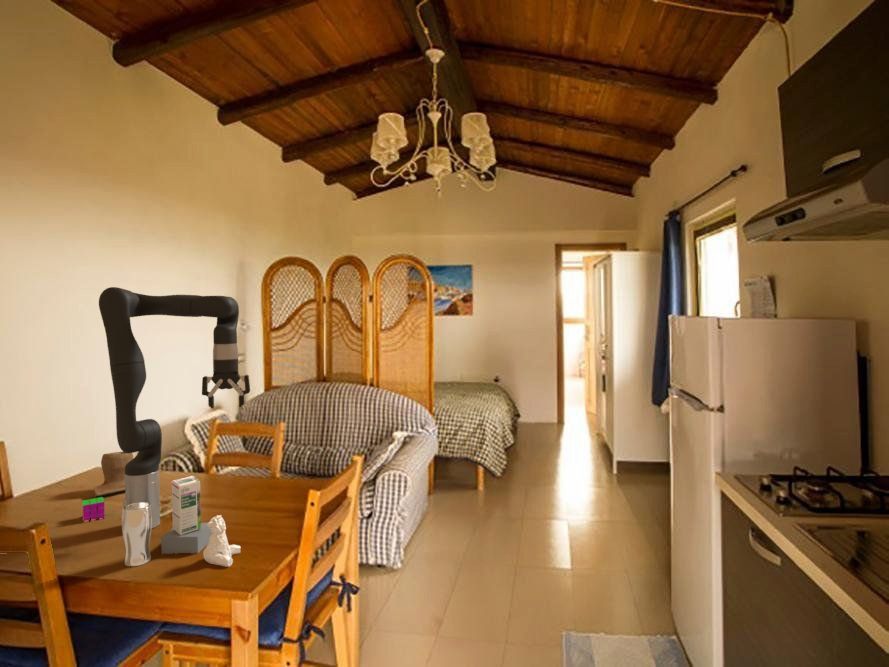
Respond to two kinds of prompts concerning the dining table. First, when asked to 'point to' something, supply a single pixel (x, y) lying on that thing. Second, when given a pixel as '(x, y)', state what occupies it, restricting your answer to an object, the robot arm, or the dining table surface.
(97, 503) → the puzzle toy
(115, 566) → the dining table surface
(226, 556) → the white creature statuette
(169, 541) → the grey block
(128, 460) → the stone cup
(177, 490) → the syrup box
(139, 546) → the beer glass
